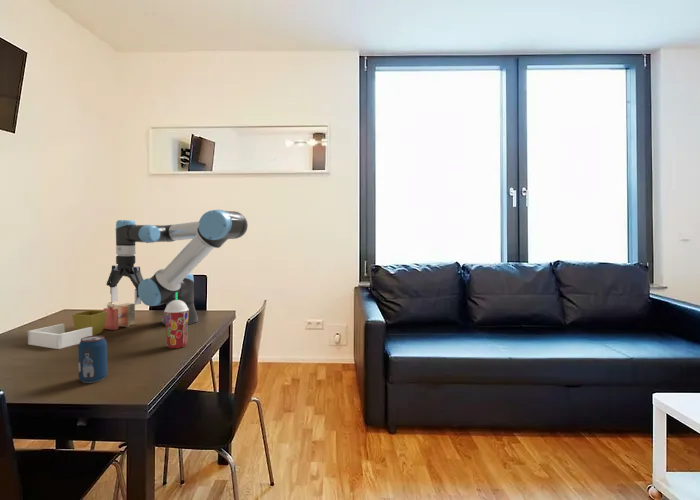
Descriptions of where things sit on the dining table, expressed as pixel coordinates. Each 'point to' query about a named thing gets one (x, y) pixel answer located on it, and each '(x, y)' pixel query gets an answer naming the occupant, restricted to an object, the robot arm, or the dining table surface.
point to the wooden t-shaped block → (119, 315)
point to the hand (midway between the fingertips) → (126, 303)
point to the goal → (57, 336)
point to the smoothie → (176, 323)
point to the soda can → (92, 359)
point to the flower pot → (90, 320)
